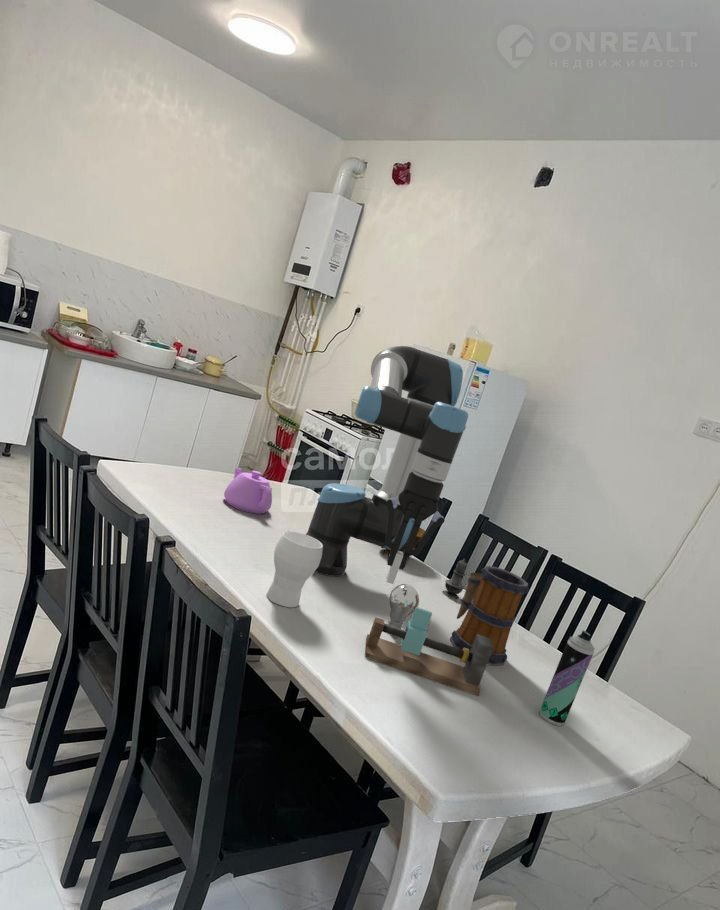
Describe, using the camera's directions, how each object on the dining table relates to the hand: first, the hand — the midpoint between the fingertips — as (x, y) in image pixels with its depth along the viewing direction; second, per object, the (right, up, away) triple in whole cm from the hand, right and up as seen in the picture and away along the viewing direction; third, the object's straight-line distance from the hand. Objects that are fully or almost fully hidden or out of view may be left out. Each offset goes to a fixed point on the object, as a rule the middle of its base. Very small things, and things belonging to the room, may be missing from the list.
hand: (389, 581), depth 146 cm
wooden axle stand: (+7, -19, +3) cm, 20 cm away
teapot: (-44, +10, +79) cm, 91 cm away
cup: (-24, -7, +13) cm, 28 cm away
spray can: (+34, -29, -1) cm, 44 cm away
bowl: (+5, -6, +83) cm, 83 cm away
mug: (+21, -21, +25) cm, 39 cm away
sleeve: (+4, -15, +2) cm, 16 cm away
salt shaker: (+21, -15, +60) cm, 65 cm away
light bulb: (+1, -15, +16) cm, 22 cm away
